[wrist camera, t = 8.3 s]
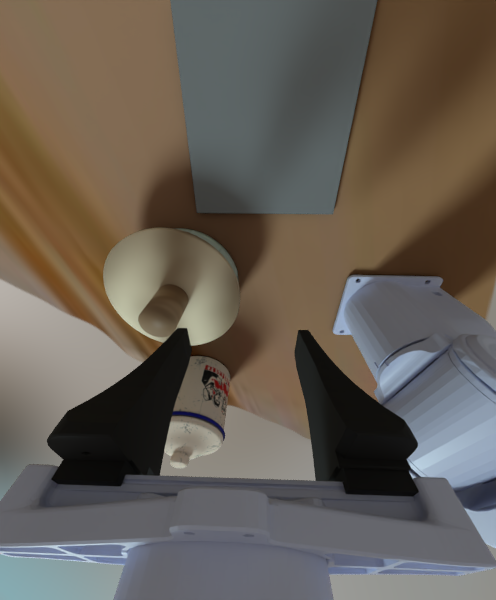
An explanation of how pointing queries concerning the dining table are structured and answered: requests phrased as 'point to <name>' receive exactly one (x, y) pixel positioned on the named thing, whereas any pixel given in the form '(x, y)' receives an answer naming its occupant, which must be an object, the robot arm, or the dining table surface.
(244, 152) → the mat
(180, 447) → the teacup with lid
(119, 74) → the dining table surface
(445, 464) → the robot arm
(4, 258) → the dining table surface
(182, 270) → the lid
